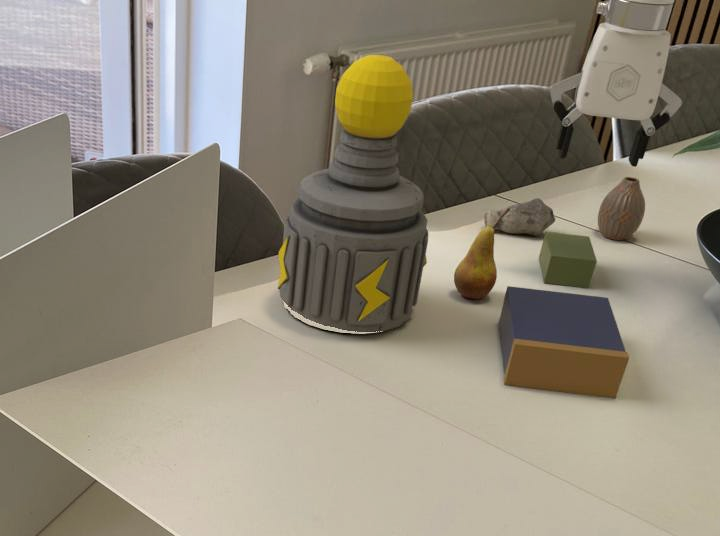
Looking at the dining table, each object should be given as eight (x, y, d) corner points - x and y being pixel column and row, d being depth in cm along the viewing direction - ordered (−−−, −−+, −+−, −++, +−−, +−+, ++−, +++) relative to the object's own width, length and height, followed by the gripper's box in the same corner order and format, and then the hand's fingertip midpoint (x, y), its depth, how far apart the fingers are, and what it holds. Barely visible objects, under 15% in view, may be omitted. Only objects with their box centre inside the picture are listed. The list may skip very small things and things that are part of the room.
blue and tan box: (597, 335, 132) (609, 296, 129) (615, 398, 119) (629, 357, 115) (497, 323, 133) (506, 285, 130) (504, 384, 120) (514, 344, 116)
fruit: (458, 284, 142) (476, 197, 134) (496, 295, 140) (517, 207, 132) (444, 297, 138) (462, 208, 130) (483, 308, 136) (504, 218, 129)
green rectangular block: (582, 263, 151) (589, 236, 149) (589, 288, 144) (597, 260, 141) (538, 258, 152) (545, 231, 149) (543, 283, 144) (551, 255, 142)
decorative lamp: (295, 341, 125) (322, 74, 105) (262, 281, 139) (280, 35, 119) (435, 335, 129) (487, 76, 109) (390, 278, 142) (428, 38, 123)
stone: (477, 237, 160) (510, 216, 152) (478, 204, 160) (511, 181, 153) (526, 251, 164) (561, 231, 156) (527, 218, 164) (561, 197, 157)
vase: (586, 236, 160) (602, 179, 155) (601, 225, 165) (617, 169, 159) (628, 247, 158) (646, 189, 152) (641, 235, 162) (659, 179, 156)
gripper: (572, 14, 124) (536, 160, 135) (713, 29, 123) (665, 175, 134) (566, 4, 129) (532, 145, 141) (701, 17, 128) (656, 159, 140)
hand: (597, 159), depth 137 cm, fingers open, 9 cm apart
